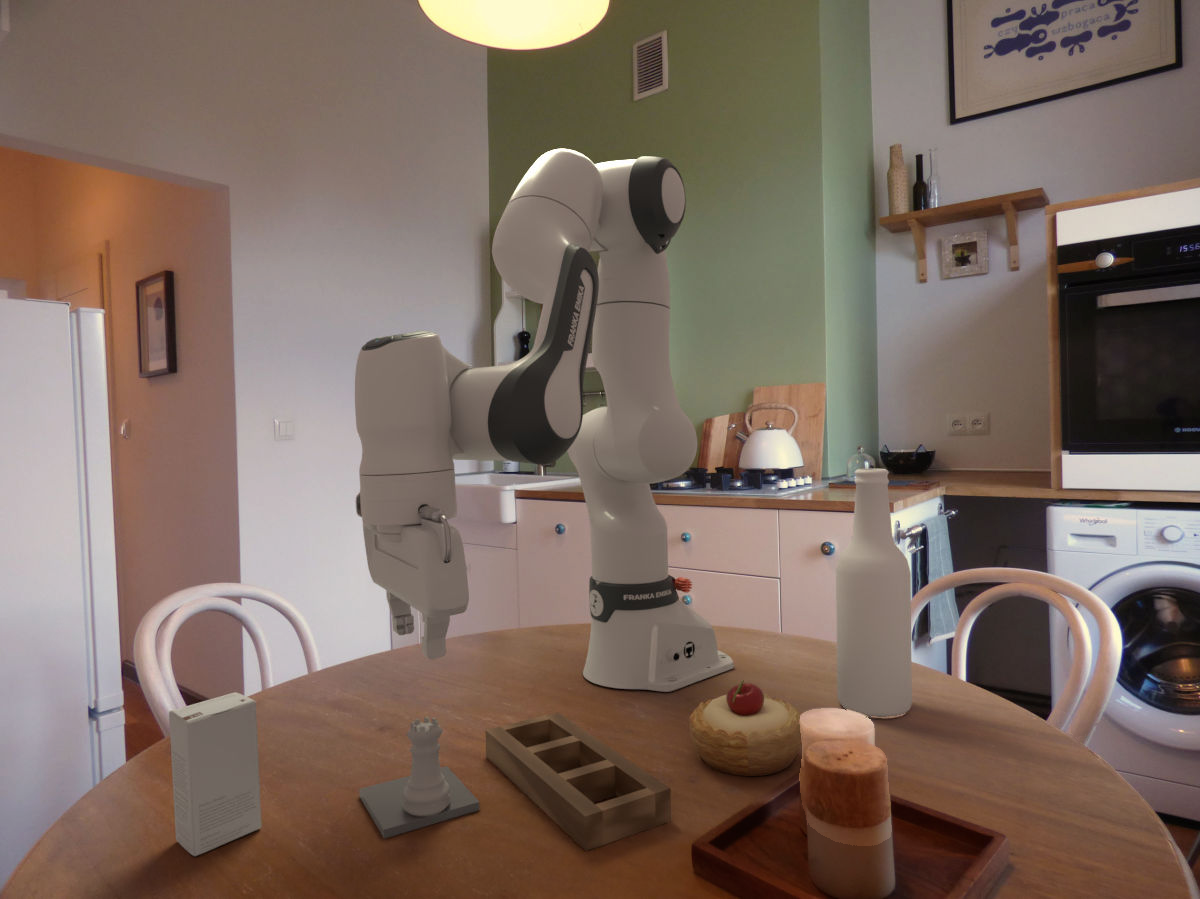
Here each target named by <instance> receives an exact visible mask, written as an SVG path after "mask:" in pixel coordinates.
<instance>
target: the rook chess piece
mask: <svg viewBox="0 0 1200 899" xmlns="http://www.w3.org/2000/svg"><path fill="white" fill-rule="evenodd" d="M443 731H444V730H443V729H442V727H441V726H440V725H439V720H438V718H435V717H432V718H431V721H430V716H427V717H423V722H421V719H420V717H419V718H416V719H414V721H411V722H410V728H409V730H408V731H407V733H406V736H407V737H408V739H409V740H410V742H411V747H410V749H409V752H410V753H411V770H410V775H409V776H410V779H409V780H408V782H407V784H408V785H407V786H406V787H405V790H404V792H403V797H404V802H403V804H402V806H403V808H404V810H405V811H406V812H407V813H408V814H410V815H412V816H415V817H429V816H433V815H436V814H438V813H440V812H442V811H443V810H445V809H446V808H447V806H448V805H449V803H450V800H451V797H450V795H449V791H450V787H449V785H448V783H447V781H445V777H444V776H443V775H442V772H441V763H440V756H439V754H440V753H439V751H440V750H441V745H440V743H439V739H440V737H441V735H442V734H443Z"/></svg>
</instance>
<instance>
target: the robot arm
mask: <svg viewBox="0 0 1200 899" xmlns="http://www.w3.org/2000/svg"><path fill="white" fill-rule="evenodd" d="M686 198H687V197H686V189H685V185H684V181H683V178H682V175H681V173H680V171H679V169H678V168H677V167H676V166H675V165H674V164H673V163H672V162H671V160H670V159H668V158H665V157H661V156H660V157H659V156H648V155H647V156H645V155H644V156H640V157H637V159H619V160H610V161H604V162H599V163H594V162H593V161H592V160H591V159H590V158H589V157H587V156H585V155H584V154H583V153H581V152H578V151H576V150H573V149H569V148H568V149H567V148H557V149H552V150H550V151H549V150H548V151H547V152H545V153H544V154H542V155H540V157H538V158H537V159H536V160H535V162H534V163H533V164H532V165H531V166H530V168H529V169H528V170H527V172H526V173H525V174H524V176H523V177H522V178H521V180H520V182H519V183H518V185H517V186H516V188H515V190H514V191H513V194H512V195H511V197H510V199H509V201H508V203H507V204H506V206H505V209H504V211H503V213H502V215H501V217H500V219H499V222H498V224H497V226H496V229H495V232H494V235H493V240H492V247H491V255H492V259H493V262H494V265H495V268H496V271H498V274H499V276H500V277H501V279H502V280H503V281H504V282H505V283H506V284H507V286H509V287H510V289H512V290H513V291H514V292H515V293H518V295H520V296H521V297H523V298H525V299H526V300H529V301H531V302H533V303H537V304H542V308H541V314H540V317H539V321H538V325H537V326H538V327H537V331H536V334H535V338H534V342H533V343H534V344H533V347H532V348H531V350H530V351H529V352H528V353H527V354H526V355H525V356H523V357H522V358H520V359H518V360H517V361H513V362H511V363H508V364H502V365H493V366H481V367H473V364H472V365H471V364H469V363H467V362H464V361H463V360H461V359H460V358H457V356H455V355H454V354H452V353H451V352H450V351H449V350H448V349H447V348H446V347H445V346H444V345H443V343H442V341H441V338H440V336H439V334H438V333H436V332H432V331H430V330H428V331H427V330H420V331H419V330H418V331H413V332H411V331H410V332H407V333H406V332H405V333H400V334H399V333H398V334H393V335H391V334H390V335H386V336H385V335H384V336H379V337H376V338H373V339H371V340H368V341H367V342H366V343H365V344H364V345H363V346H362V347H361V348H360V351H359V352H358V356H357V360H356V366H355V373H354V376H355V377H354V409H355V410H354V411H355V424H356V425H355V426H356V431H357V433H358V438H360V443H361V461H360V465H359V486H360V489H359V492H358V494H357V495H356V496H355V510H356V511H355V512H356V514H357V516H358V517H360V518H361V520H362V531H363V539H364V540H363V541H364V547H365V554H366V561H367V568H368V572H369V575H370V578H371V580H372V582H373V583H374V584H376V585H378V586H379V587H380V588H382V589H384V590H385V592H386V593H385V594H386V601H387V603H388V608H389V611H390V615H391V618H392V619H391V620H392V630H393V632H394V633H396V634H398V636H405V635H410V634H412V633H413V632H414V631H415V625H414V624H415V623H414V622H415V619H414V618H415V617H414V615H413V614H412V610H411V609H412V608H413V609H415V610H417V611H418V612H420V613H421V620H422V622H423V623H424V624H423V625H424V627H423V629H424V631H423V636H421V639H420V640H421V647H422V648H421V652H422V653H423V655H424V656H425V657H426V658H428V659H429V660H434V659H439V658H443V657H445V655H446V653H447V644H446V643H447V641H446V637H447V633H448V630H449V626H450V623H451V622H450V621H451V616H455V615H460V614H463V613H465V612H466V611H467V608H468V607H469V601H470V591H469V583H468V580H469V579H468V572H467V565H466V564H467V563H466V556H465V550H464V544H463V539H462V536H461V533H460V531H459V530H458V529H457V527H455V526H452V525H451V523H449V522H448V520H451V519H453V518H455V517H456V516H458V505H457V490H456V473H455V470H456V469H455V462H454V460H455V461H462V460H463V461H466V460H467V461H479V462H480V461H481V462H484V461H485V462H488V461H492V462H493V461H495V462H496V461H497V462H498V461H505V462H506V461H510V462H516V463H524V464H533V465H549V464H552V463H554V462H556V461H557V460H559V459H560V458H561V457H563V456H564V455H565V454H566V453H567V455H568V457H569V459H570V460H571V462H572V463H573V465H574V467H575V469H576V471H577V473H578V477H579V480H580V485H581V489H582V493H583V497H584V501H585V504H586V509H587V514H588V518H589V519H588V520H589V526H590V544H591V545H590V548H591V576H590V577H589V582H588V584H589V585H588V586H589V588H588V589H589V591H588V592H589V593H588V594H589V597H588V598H589V611H590V613H589V614H590V616H591V621H590V622H591V623H590V633H589V634H590V635H589V640H588V641H589V642H588V649H587V653H586V654H587V655H586V660H585V664H584V667H583V670H582V675H583V677H584V678H585V679H586V680H587V681H589V682H591V683H593V684H595V685H599V686H602V687H606V688H613V689H622V690H623V689H624V690H648V691H655V692H662V693H663V692H664V693H668V692H672V691H677V690H678V689H681V688H684V687H686V686H688V685H692V684H695V683H697V682H700V681H702V680H705V679H708V678H710V677H713V676H716V675H718V674H722V673H724V672H727V671H730V670H732V669H734V667H735V665H734V660H733V659H732V657H731V656H729V655H728V654H726V653H725V652H723V651H721V650H719V649H718V642H717V637H716V632H715V630H714V627H713V625H712V624H711V623H710V621H708V619H705V618H704V617H703V616H702V615H700V614H698V612H696V611H695V610H693V609H692V608H691V607H690V606H688V605H687V604H685V603H684V602H683V601H682V600H680V597H679V593H678V592H677V591H680V592H683V593H690V591H691V589H692V588H693V581H691V579H690V578H686V577H685V578H684V577H682V576H679V577H677V578H675V577H673V576H672V575H670V574H669V556H668V554H669V552H668V550H669V549H668V547H669V546H668V541H669V540H668V526H667V525H668V524H667V521H666V519H665V517H664V515H663V513H662V512H661V511H660V510H659V507H658V506H657V504H656V502H655V500H654V499H655V498H654V496H653V493H652V490H651V486H650V484H658V483H661V482H666V481H669V480H673V479H676V478H678V477H680V476H682V475H684V473H685V472H687V471H688V470H689V469H690V467H691V466H692V465H693V462H694V461H695V458H696V456H697V451H698V437H697V431H696V429H695V426H694V424H693V423H692V421H691V420H690V418H689V417H688V416H687V415H686V414H685V412H684V411H683V410H682V407H681V406H680V403H679V400H678V397H677V394H676V390H675V389H676V388H675V387H674V382H673V381H674V380H673V377H672V373H671V364H670V324H671V322H670V318H671V315H670V314H671V311H670V310H671V291H670V290H671V289H670V273H669V267H668V265H669V264H668V260H667V255H666V254H667V253H666V250H667V248H668V247H669V245H670V243H671V240H672V238H674V237H675V236H676V234H677V232H678V231H679V228H680V227H681V225H682V222H683V220H684V218H685V213H686V204H687V203H686V202H687V200H686ZM590 252H598V255H599V260H598V264H597V265H598V266H597V265H596V261H595V259H594V257H593V256H592V255H591V254H590ZM591 341H592V344H591ZM590 345H592V347H591V349H592V350H591V360H592V363H593V366H594V368H595V369H596V370H597V372H598V374H599V377H600V378H601V381H602V385H603V388H604V393H605V399H606V406H601V407H597V408H594V409H592V410H590V411H588V412H586V413H584V380H585V373H586V368H587V362H588V356H589V352H590Z"/></svg>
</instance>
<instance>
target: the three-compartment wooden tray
mask: <svg viewBox="0 0 1200 899" xmlns="http://www.w3.org/2000/svg"><path fill="white" fill-rule="evenodd" d="M484 733H485V757H486V758H487V759H488V761H490V762H491V763H492V764H493V765H494V766H495V767H496V768H498V769H499V770H500V771H501V772H502V774H504V775H505V777H507V778H508V779H509V780H510V781H511V782H512V783H513V784H514V785H516V786H517V788H518V789H520V790H521V791H522V792H523V793H524V795H526V796H527V797H528V798H529V799H530V800H531V801H532V802H533V803H534V804H536V805H537V807H538V808H540V809H541V810H542V811H543V812H544V813H545V814H546V815H547V816H548V817H549V818H550V819H551V820H552V821H554V822H555V823H556V824H557V826H559V827H560V828H561V829H562V831H564V832H565V833H566V834H567V835H568V836H569V837H570V838H571V839H572V840H573V841H575V842H576V844H578V845H579V846H580V847H581V848H582V849H583V851H585V852H588V851H590V850H594V849H596V848H599V847H602V846H605V845H607V844H610V843H613V842H616V841H618V840H622V839H624V838H626V837H630V836H633V835H635V834H639V833H641V832H643V831H647V830H649V829H653V828H655V827H657V826H660V825H663V824H666V823H669V822H672V788H671V787H669V786H668V785H667V784H665V783H663V782H662V781H661V780H659V779H657V778H656V777H655V776H653V775H652V774H650V772H648V771H646V770H645V769H643V768H641V767H640V766H638V764H635V763H634V762H632V761H631V760H629V759H628V758H626V757H625V756H623V755H622V754H621V753H619V752H618V751H616V750H615V749H614V748H612V747H611V746H609V745H607V744H606V743H604V742H603V741H601V740H600V739H598V738H597V737H596V736H594V735H592V734H591V733H589V732H588V731H586V730H585V729H583V727H581V726H579V725H578V724H576V723H575V722H574V721H572V720H570V719H568V717H565V715H562V714H561V713H560V712H553V713H549V714H545V715H541V716H536V717H532V718H529V719H524V720H520V721H517V722H512V723H508V724H504V725H499V726H495V727H491V728H487V729H485V732H484ZM612 797H614V798H612ZM610 798H612V799H610ZM606 799H609V800H606ZM603 800H606V801H603ZM599 801H601V802H599ZM602 801H603V802H602ZM597 802H599V803H597ZM595 803H596V804H595Z"/></svg>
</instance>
